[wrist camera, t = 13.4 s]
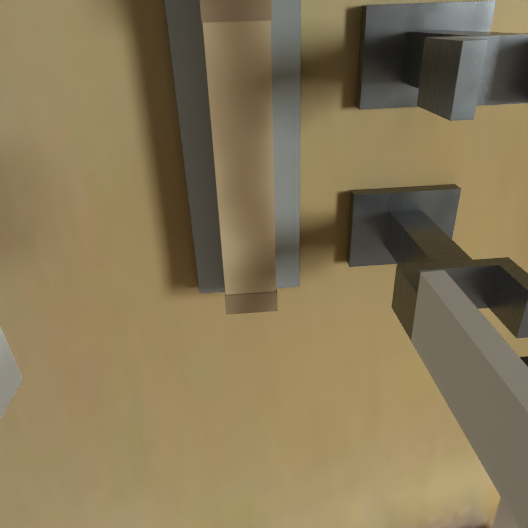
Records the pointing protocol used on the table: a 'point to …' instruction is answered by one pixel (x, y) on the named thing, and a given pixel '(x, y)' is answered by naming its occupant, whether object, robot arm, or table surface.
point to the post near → (439, 59)
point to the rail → (243, 147)
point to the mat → (201, 144)
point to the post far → (430, 252)
